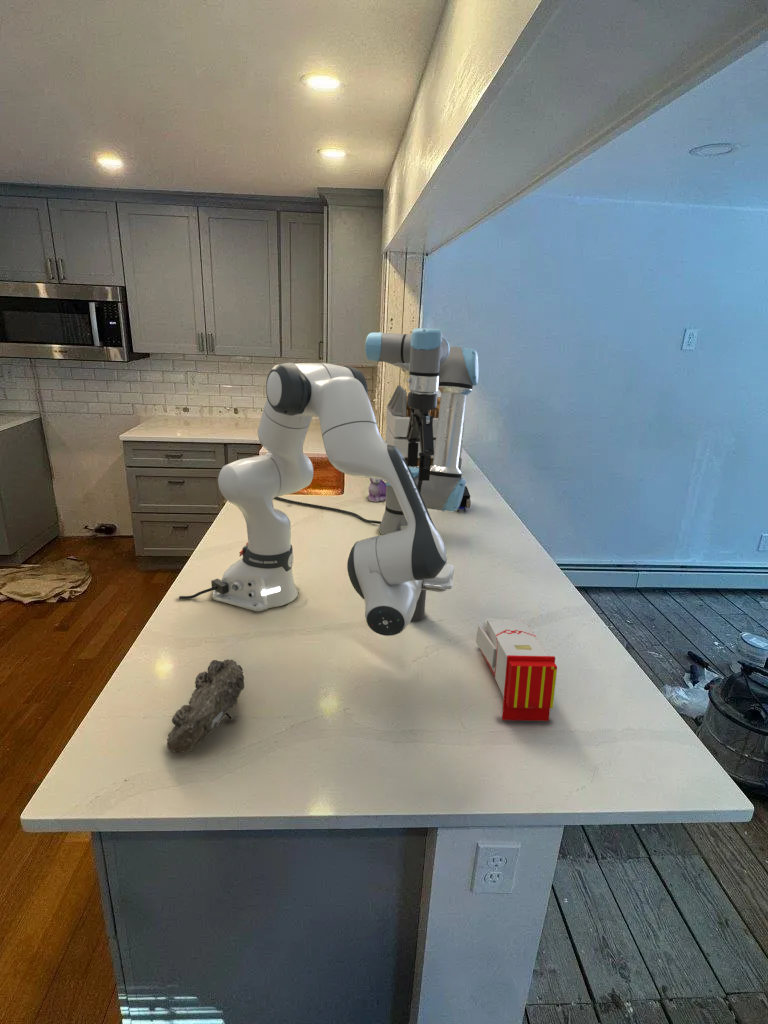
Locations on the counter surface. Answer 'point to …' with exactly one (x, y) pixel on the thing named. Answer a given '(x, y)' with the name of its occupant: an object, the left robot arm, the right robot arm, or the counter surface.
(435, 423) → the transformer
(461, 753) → the counter surface
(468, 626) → the counter surface
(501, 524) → the counter surface
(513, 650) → the toy
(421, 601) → the bottle
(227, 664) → the fossil
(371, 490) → the figurine
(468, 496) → the figurine character
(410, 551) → the left robot arm
